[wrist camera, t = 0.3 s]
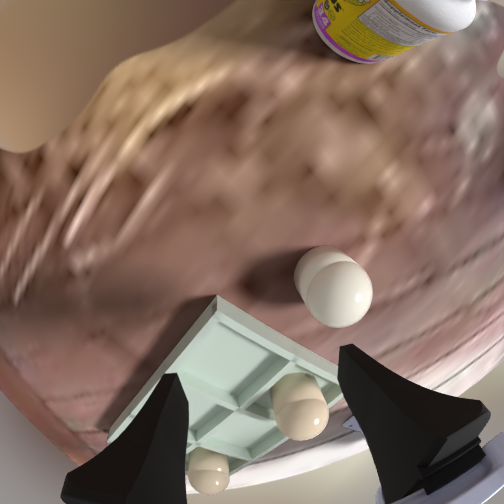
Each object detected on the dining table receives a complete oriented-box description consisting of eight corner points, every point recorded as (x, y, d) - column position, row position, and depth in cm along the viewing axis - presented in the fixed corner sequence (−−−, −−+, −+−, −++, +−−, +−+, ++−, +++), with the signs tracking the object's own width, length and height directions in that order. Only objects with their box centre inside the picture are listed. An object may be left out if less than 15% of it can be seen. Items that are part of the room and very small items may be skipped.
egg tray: (346, 370, 24) (355, 385, 22) (217, 468, 28) (218, 481, 26) (217, 294, 20) (217, 310, 18) (110, 427, 24) (106, 441, 22)
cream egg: (360, 267, 21) (396, 299, 16) (322, 309, 22) (349, 351, 16) (321, 232, 19) (354, 259, 14) (281, 280, 20) (301, 321, 15)
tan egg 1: (235, 452, 26) (239, 491, 21) (214, 466, 27) (215, 502, 22) (201, 442, 25) (202, 483, 20) (182, 456, 25) (180, 494, 20)
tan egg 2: (326, 382, 23) (346, 425, 18) (294, 409, 24) (307, 453, 19) (292, 365, 22) (309, 413, 17) (259, 396, 23) (268, 443, 18)
